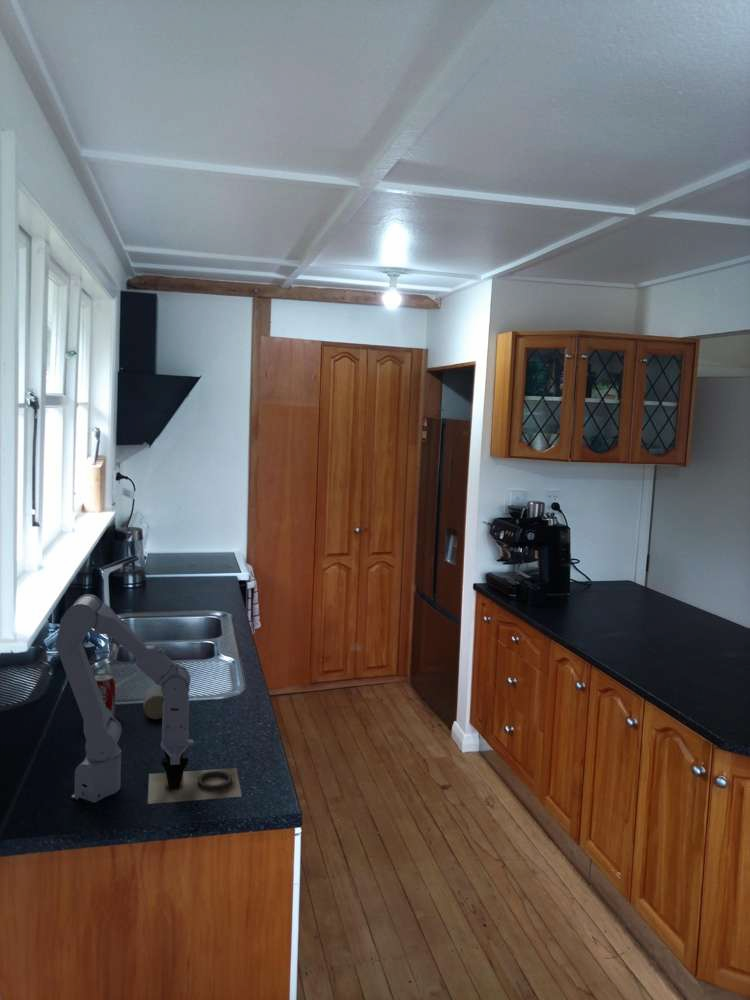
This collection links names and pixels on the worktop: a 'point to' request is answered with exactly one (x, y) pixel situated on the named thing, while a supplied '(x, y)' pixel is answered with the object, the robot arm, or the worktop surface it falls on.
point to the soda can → (107, 690)
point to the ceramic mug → (153, 702)
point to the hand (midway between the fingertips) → (174, 781)
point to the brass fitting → (168, 786)
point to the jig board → (196, 786)
